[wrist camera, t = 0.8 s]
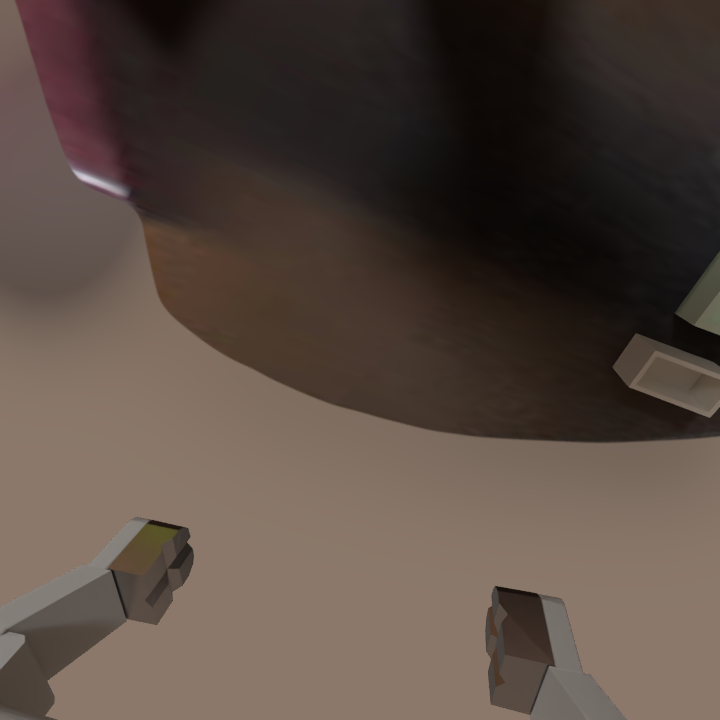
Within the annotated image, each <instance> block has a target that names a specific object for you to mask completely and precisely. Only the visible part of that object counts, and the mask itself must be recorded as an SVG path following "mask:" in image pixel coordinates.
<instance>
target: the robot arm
mask: <svg viewBox="0 0 720 720" xmlns="http://www.w3.org/2000/svg"><path fill="white" fill-rule="evenodd" d="M189 538H190V533H189V529H188V528H185V527H181V526H176V525H172V524H168V523H163V522H159V521H154V520H150V519H144V518H139V517H135V518H133V519H131V520H130V521H129V522H128V523H127V524H126V525H125V526H124V527H123V528H122V529H121V530H120V532H118V533H117V535H116V536H115V537H114V538H113V539H112V540H111V541H110V542H109V543H108V544H107V545H106V547H104V549H103V550H102V551H101V552H100V553H99V554H98V555H97V556H96V557H95V558H94V559H93V560H92V561H91V563H90V564H89V565H84V564H83V565H81V566H79V567H77V568H75V569H73V570H71V571H69V572H67V573H65V574H63V575H61V576H59V577H57V578H55V579H53V580H51V581H49V582H47V583H45V584H44V585H42V586H40V587H38V588H36V589H34V590H32V591H30V592H28V593H26V594H24V595H22V596H20V597H18V598H16V599H14V600H12V601H10V602H8V603H6V604H4V605H2V606H0V720H56V719H53V718H49V717H46V716H45V715H46V714H47V712H48V711H49V710H50V708H51V707H52V706H53V704H54V694H53V692H52V690H51V688H50V686H49V684H48V682H47V680H49V679H50V678H51V677H53V676H54V675H55V674H57V673H58V672H59V671H61V670H62V669H63V668H64V667H66V666H67V665H69V664H70V663H71V662H73V661H74V660H75V659H77V658H78V657H79V656H81V655H82V654H83V653H85V652H86V651H87V650H89V649H90V648H91V647H93V646H94V645H95V644H97V643H98V642H99V641H101V640H102V639H103V638H105V637H106V636H107V635H109V634H110V633H111V632H113V631H114V630H115V629H117V628H118V627H119V626H121V625H122V624H123V623H125V622H126V619H130V620H135V621H139V622H145V623H149V624H155V625H157V624H158V623H159V621H160V619H161V618H162V616H163V615H164V613H165V612H166V610H167V609H168V607H169V606H170V604H171V603H172V601H173V597H172V592H173V591H175V590H176V589H178V588H179V587H181V586H183V584H184V582H185V581H186V579H187V578H188V576H189V573H190V571H191V568H192V565H193V559H194V554H193V549H192V547H191V546H190V545H189V544H188V543H187V541H188V540H189ZM486 652H487V653H488V655H489V656H490V658H491V662H490V667H489V670H488V677H489V689H490V701H491V704H492V705H496V706H499V707H503V708H507V709H511V710H514V711H518V712H522V713H525V714H529V715H530V718H531V720H627V719H626V718H625V717H624V716H623V715H622V713H621V712H620V711H619V710H618V708H617V707H616V706H615V705H614V703H613V702H612V701H611V700H610V698H609V697H608V696H607V695H606V694H605V692H604V691H603V690H602V689H601V687H600V686H599V685H598V684H597V682H596V681H595V680H594V679H593V677H592V676H591V675H589V674H585V673H583V671H582V667H581V663H580V660H579V656H578V652H577V648H576V645H575V641H574V638H573V634H572V630H571V626H570V623H569V619H568V615H567V612H566V608H565V605H564V602H563V601H562V599H560V598H556V597H550V596H545V595H540V594H539V595H538V594H537V593H532V592H526V591H521V590H515V589H509V588H504V587H498V586H495V587H494V589H493V592H492V606H491V607H490V608H488V613H487V619H486Z"/></svg>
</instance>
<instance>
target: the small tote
mask: <svg viewBox="0 0 720 720" xmlns="http://www.w3.org/2000/svg"><path fill="white" fill-rule="evenodd" d="M612 368H613V369H614V370H615V371H616V372H617V374H618V375H619V376H620V377H621V379H622V380H623V381H624V382H625V383H626V385H627V386H628V387H630V388H632V389H635V390H638V391H640V392H643V393H646V394H648V395H651V396H653V397H656V398H659V399H661V400H664V401H667V402H669V403H672V404H675V405H677V406H680V407H683V408H685V409H688V410H691V411H693V412H696V413H698V414H701V415H704V416H706V417H709V418H710V417H711V416H712V415H713V414H714V413H715V412H716V410H717V409H718V408H719V407H720V367H719V366H718V365H717V364H715V363H714V362H712V361H709V360H707V359H704V358H701V357H699V356H696V355H693V354H691V353H688V352H685V351H682V350H680V349H677V348H674V347H672V346H669V345H666V344H664V343H661V342H658V341H656V340H653V339H650V338H648V337H645V336H642V335H639V334H637V333H636V334H635V335H634V337H633V338H632V339H631V341H630V342H629V344H628V345H627V347H626V348H625V349H624V351H623V352H622V354H621V355H620V357H619V358H618V359H617V361H616V362H615V364H614V365H613V367H612Z"/></svg>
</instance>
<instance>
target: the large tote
mask: <svg viewBox="0 0 720 720" xmlns="http://www.w3.org/2000/svg"><path fill="white" fill-rule="evenodd" d="M675 314H676V315H678V316H679V317H681V318H683V319H684V320H686V321H687V322H689V323H690V324H692V325H694V326H696V327H699V328H702V329H704V330H707V331H710V332H712V333H715V334H718V335H720V251H719V253H718V254H717V255H716V257H715V258H714V259H713V261H712V262H711V263H710V265H709V266H708V268H707V269H706V270H705V272H704V273H703V274H702V276H701V277H700V279H699V280H698V281H697V283H696V284H695V285H694V287H693V288H692V290H691V291H690V292H689V294H688V295H687V296H686V298H685V299H684V301H683V302H682V303H681V305H680V306H679V307H678V309H677V310H676V312H675Z"/></svg>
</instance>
